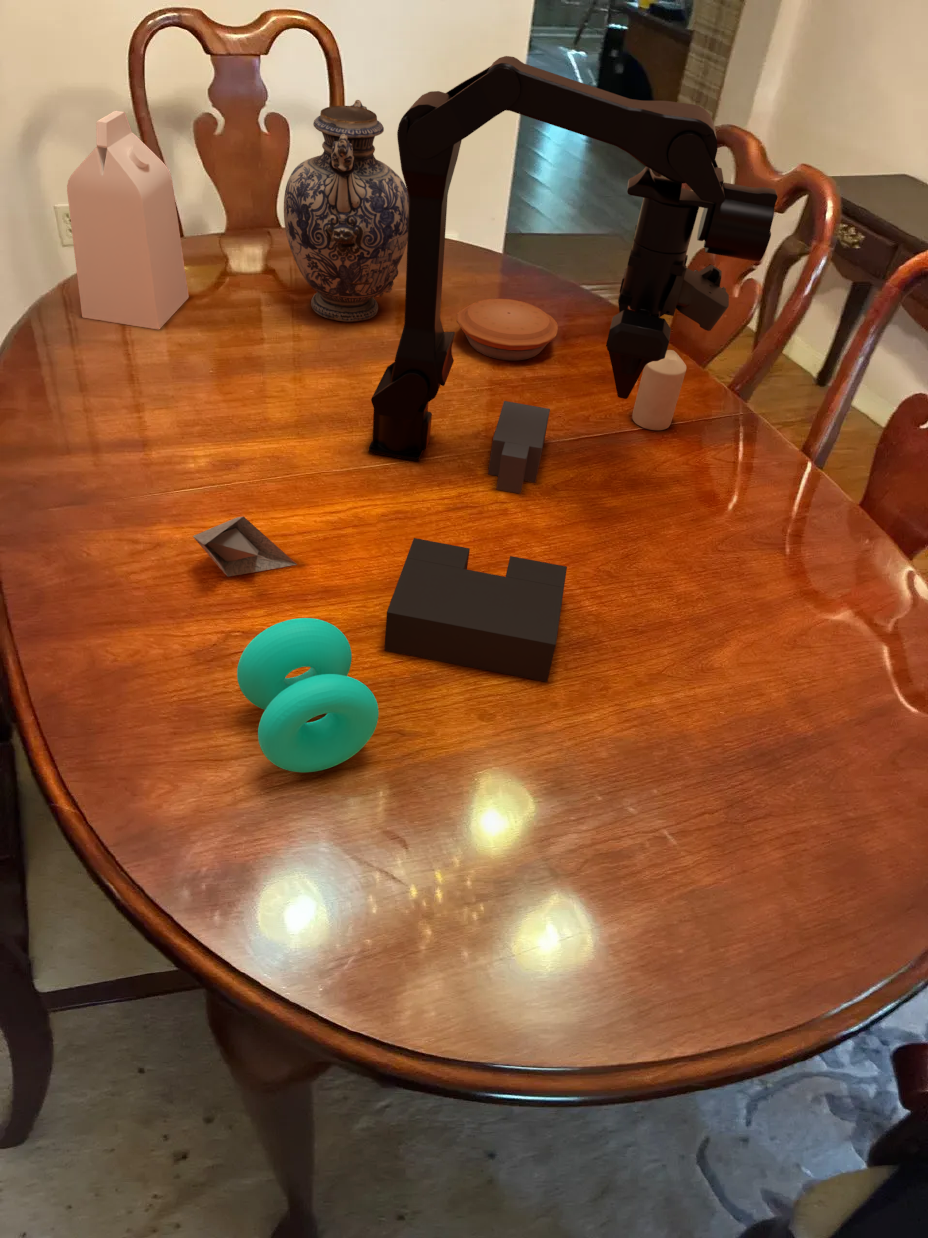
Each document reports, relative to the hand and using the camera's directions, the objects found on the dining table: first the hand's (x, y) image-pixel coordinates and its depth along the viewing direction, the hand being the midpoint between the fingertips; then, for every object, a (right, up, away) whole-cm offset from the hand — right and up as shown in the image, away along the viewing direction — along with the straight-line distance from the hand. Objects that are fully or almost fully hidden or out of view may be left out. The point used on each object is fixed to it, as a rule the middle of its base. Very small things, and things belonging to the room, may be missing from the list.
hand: (626, 379), depth 107 cm
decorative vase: (-37, +21, +39) cm, 58 cm away
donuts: (-32, -38, -26) cm, 56 cm away
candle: (+7, 0, +22) cm, 23 cm away
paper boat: (-42, -23, -11) cm, 49 cm away
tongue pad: (-12, -8, +10) cm, 18 cm away
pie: (-12, +14, +36) cm, 40 cm away
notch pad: (-18, -28, -13) cm, 36 cm away
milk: (-68, +19, +32) cm, 78 cm away
